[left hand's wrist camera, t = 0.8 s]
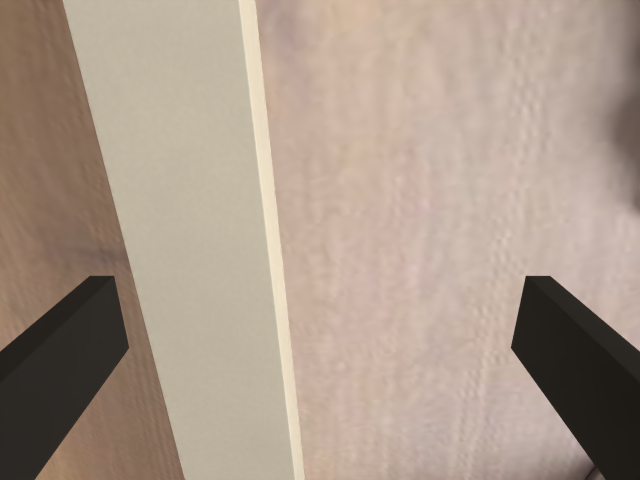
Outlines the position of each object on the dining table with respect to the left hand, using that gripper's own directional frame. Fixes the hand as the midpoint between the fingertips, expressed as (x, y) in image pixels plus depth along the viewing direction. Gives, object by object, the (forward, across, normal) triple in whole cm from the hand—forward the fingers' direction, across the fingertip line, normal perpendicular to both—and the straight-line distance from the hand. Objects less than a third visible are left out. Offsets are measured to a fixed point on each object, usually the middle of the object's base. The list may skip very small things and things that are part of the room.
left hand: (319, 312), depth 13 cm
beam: (+19, -7, -16) cm, 26 cm away
